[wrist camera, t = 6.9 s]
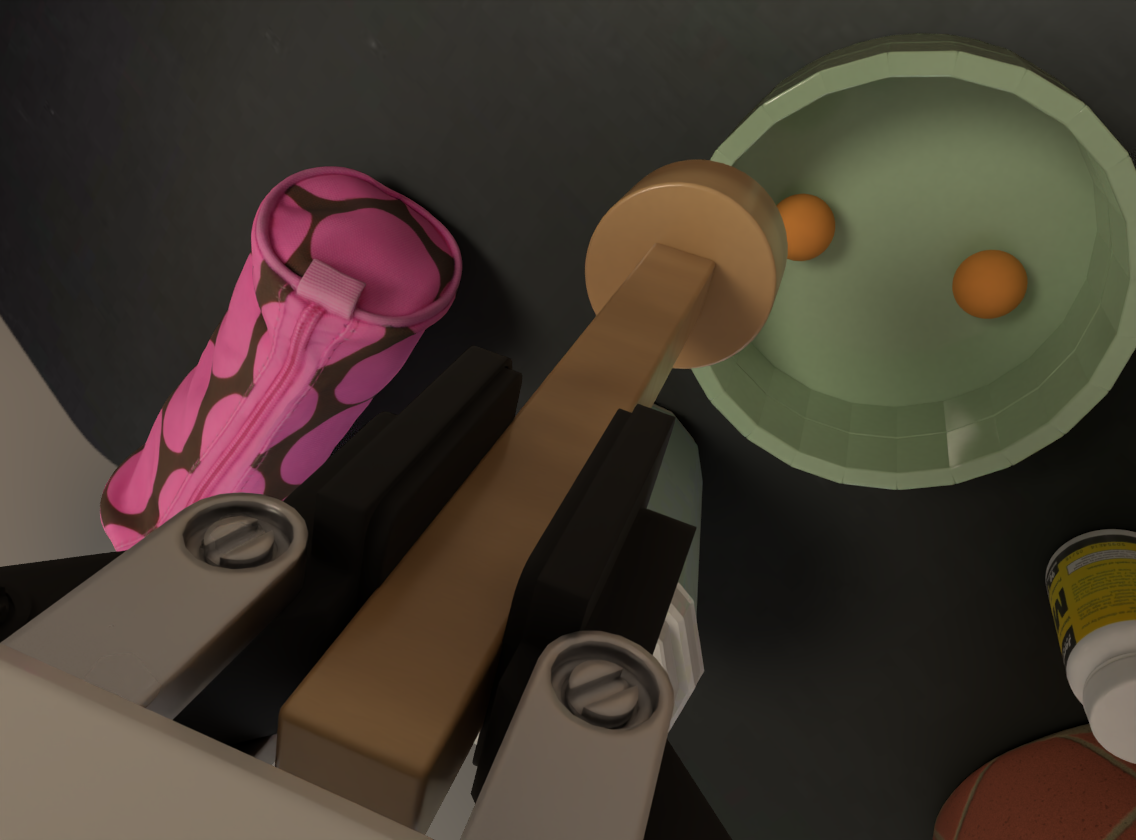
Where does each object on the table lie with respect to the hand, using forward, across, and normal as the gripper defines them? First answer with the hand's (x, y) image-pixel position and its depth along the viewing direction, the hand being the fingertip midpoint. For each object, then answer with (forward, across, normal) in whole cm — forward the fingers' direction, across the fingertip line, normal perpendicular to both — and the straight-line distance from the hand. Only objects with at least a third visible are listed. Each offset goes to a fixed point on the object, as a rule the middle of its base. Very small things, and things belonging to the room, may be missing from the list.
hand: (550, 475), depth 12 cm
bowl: (+25, -6, +2) cm, 26 cm away
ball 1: (+24, -2, +2) cm, 24 cm away
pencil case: (+26, +17, +16) cm, 35 cm away
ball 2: (+24, -9, +2) cm, 25 cm away
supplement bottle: (+26, -19, +13) cm, 34 cm away
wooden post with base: (+11, 0, 0) cm, 11 cm away
